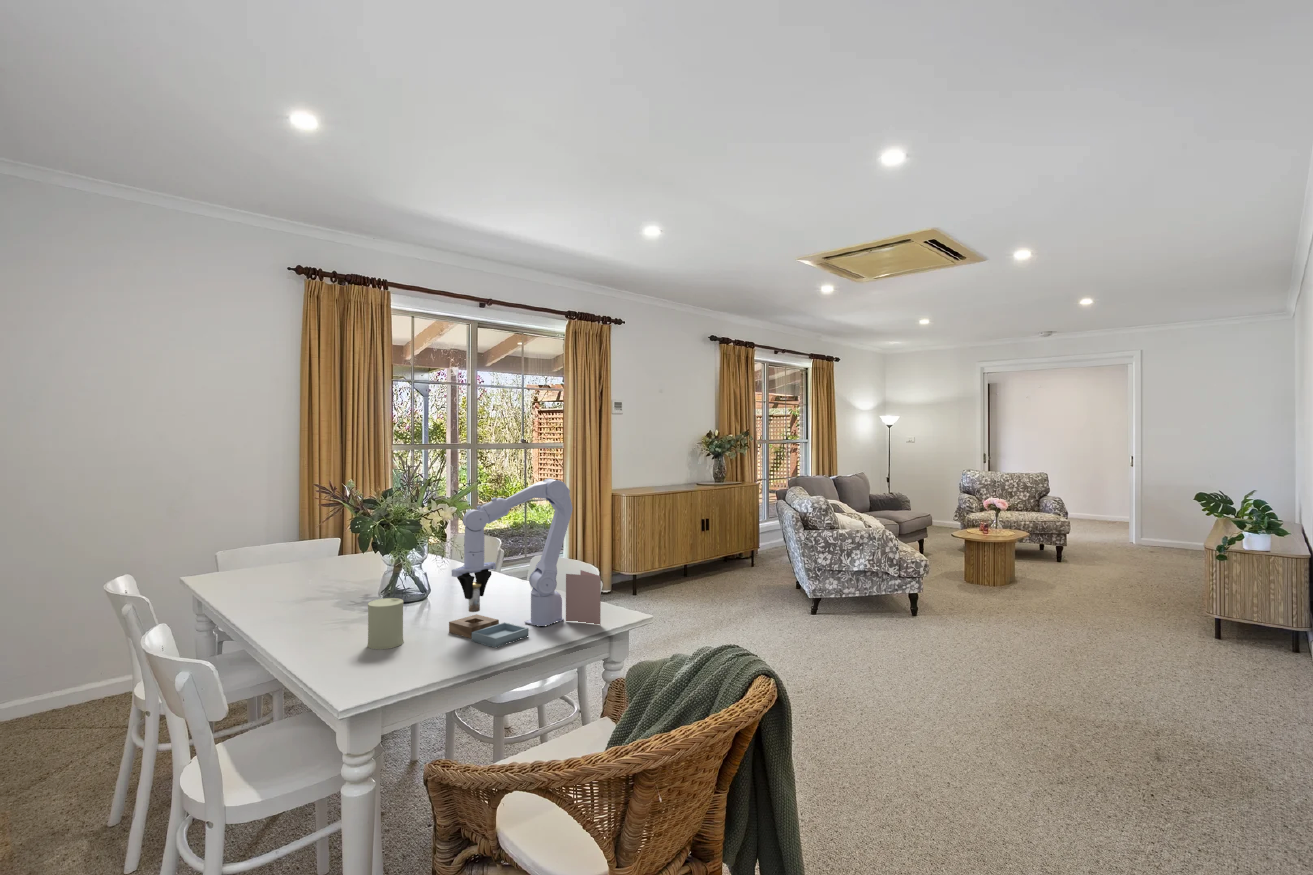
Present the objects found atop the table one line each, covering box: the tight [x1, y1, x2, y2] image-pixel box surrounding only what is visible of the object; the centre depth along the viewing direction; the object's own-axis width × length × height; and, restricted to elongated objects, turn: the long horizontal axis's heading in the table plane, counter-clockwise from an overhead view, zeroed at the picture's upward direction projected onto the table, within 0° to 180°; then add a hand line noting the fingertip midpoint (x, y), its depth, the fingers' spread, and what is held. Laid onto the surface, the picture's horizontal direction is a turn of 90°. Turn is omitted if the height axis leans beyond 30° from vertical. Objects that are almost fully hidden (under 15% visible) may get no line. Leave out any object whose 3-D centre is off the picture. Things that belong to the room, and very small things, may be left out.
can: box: [367, 597, 405, 650], centre depth 179 cm, size 9×9×12 cm
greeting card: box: [565, 569, 602, 625], centre depth 200 cm, size 11×7×15 cm, turn 38°
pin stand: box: [448, 613, 500, 639], centre depth 191 cm, size 10×10×3 cm
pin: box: [468, 581, 481, 613], centre depth 191 cm, size 4×4×8 cm
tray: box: [471, 622, 530, 648], centre depth 184 cm, size 12×10×2 cm
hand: (474, 597), depth 191 cm, fingers closed on pin, 4 cm apart
